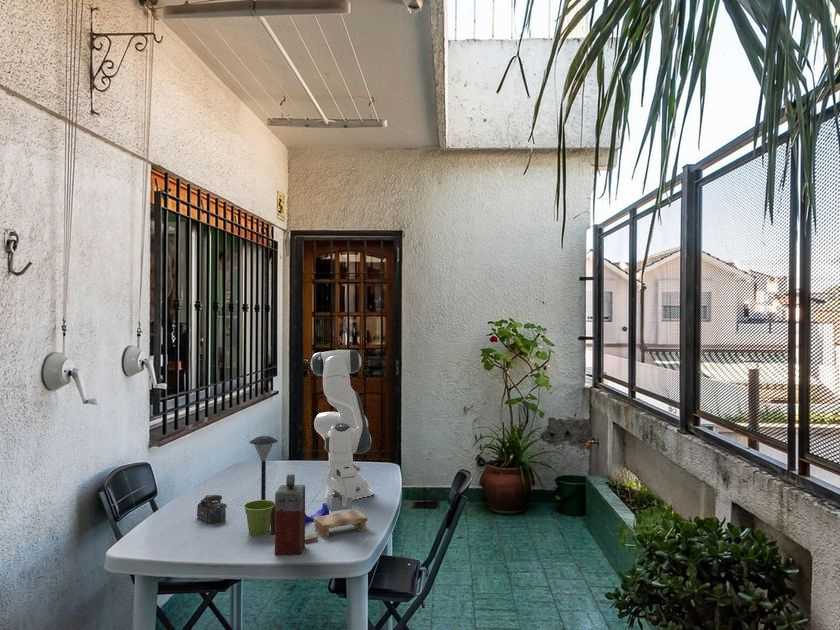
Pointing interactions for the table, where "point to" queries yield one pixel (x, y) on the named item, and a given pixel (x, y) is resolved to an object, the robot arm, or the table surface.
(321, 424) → the robot arm
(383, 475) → the table surface
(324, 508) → the blue curved block
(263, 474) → the solar garden light
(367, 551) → the table surface
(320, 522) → the stand
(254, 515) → the plant pot
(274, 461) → the table surface
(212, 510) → the camera
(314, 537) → the tan wooden block
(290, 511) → the red grey canister
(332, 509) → the housing
